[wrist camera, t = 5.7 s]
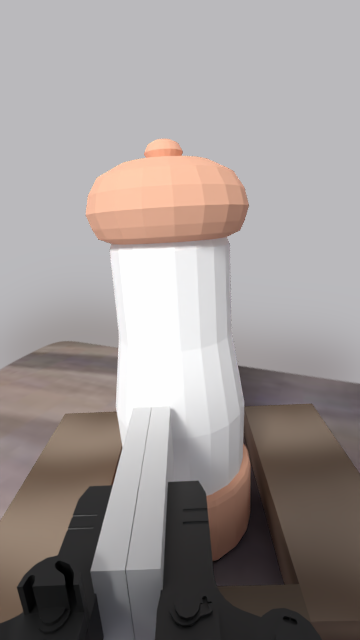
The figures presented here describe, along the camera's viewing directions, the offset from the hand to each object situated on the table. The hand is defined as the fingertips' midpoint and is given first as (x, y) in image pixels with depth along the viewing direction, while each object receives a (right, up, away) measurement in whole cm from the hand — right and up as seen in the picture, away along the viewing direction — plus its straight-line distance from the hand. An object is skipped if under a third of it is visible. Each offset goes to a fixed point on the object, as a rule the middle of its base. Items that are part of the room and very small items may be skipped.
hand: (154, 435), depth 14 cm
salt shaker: (+1, -6, +5) cm, 8 cm away
